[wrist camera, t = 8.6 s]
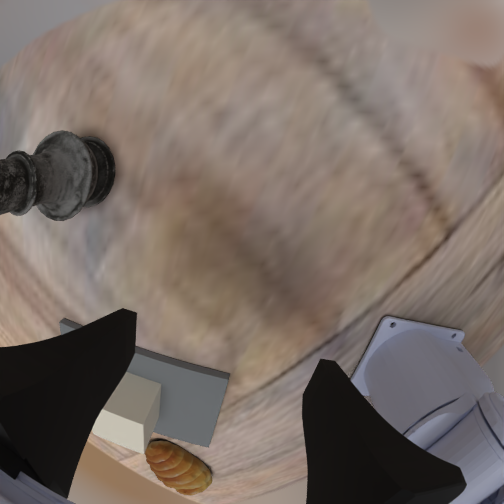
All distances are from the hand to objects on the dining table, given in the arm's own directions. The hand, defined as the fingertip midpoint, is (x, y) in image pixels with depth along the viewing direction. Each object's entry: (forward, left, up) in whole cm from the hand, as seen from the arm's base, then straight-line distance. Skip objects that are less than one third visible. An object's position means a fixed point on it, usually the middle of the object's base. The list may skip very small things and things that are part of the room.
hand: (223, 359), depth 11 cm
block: (+7, +15, -9) cm, 19 cm away
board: (+7, +15, -10) cm, 19 cm away
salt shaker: (+13, -4, -10) cm, 17 cm away
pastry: (+2, +27, -10) cm, 29 cm away
